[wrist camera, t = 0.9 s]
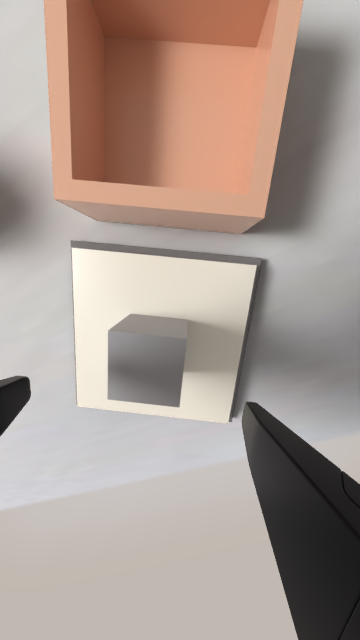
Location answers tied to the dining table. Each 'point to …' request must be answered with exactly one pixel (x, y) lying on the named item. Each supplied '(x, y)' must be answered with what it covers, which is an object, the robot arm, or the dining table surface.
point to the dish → (168, 107)
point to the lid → (158, 333)
